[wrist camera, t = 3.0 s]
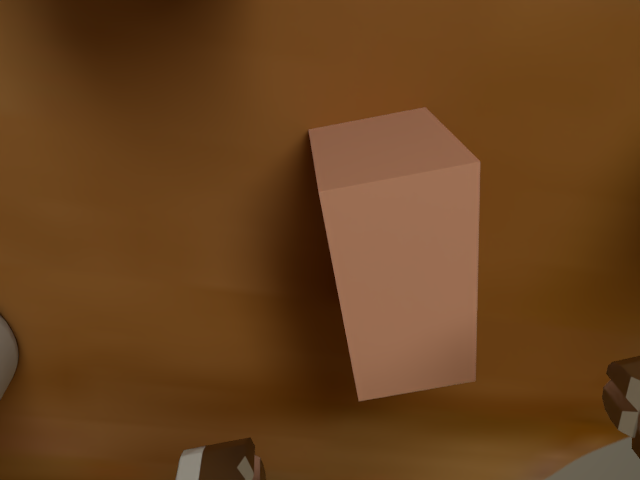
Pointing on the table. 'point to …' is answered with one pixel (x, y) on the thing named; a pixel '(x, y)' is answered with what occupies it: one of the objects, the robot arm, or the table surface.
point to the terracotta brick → (402, 248)
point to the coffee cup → (7, 355)
